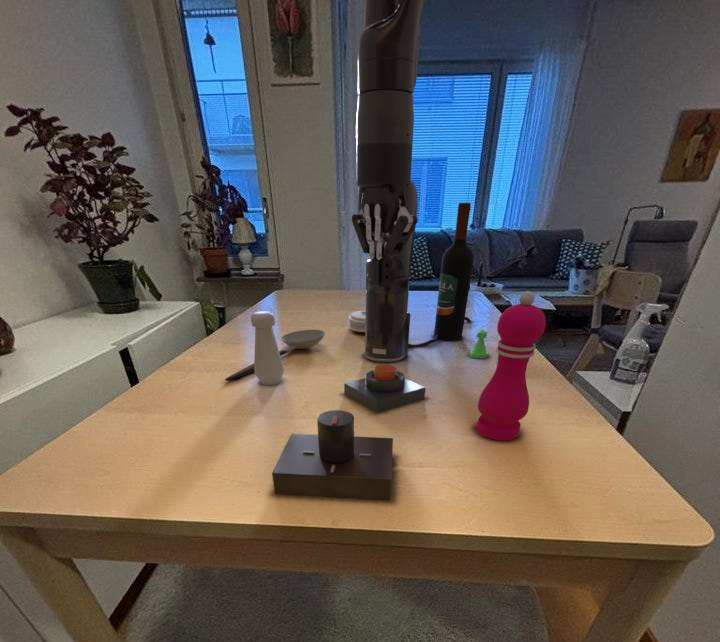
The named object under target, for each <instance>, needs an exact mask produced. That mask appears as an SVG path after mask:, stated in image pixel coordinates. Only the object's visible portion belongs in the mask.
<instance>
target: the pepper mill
mask: <svg viewBox="0 0 720 642" xmlns="http://www.w3.org/2000/svg"><path fill="white" fill-rule="evenodd" d="M535 299H536V298H535V294H534V292H532V291H530V290H527V291H524V292H523V293H521V295H520V296H519V303H517V304H514V305H511V306H509V307H507V308H506V309H505V310H504V311H503V312H502V313H501V315H500V316H499V319H498V322H497V326H496V329H497V330H496V331H497V334H498V336H499V337H500V340H499V341H498V342H497V348H496V350H495V351H496V353H497V354H498V356H497V357H498V358H497V364H496V368H495V371H494V373H493V375H492V377H491V378H490V380H489V381H488V383H487V384H486V385H485V387H484V388H483V390H482V391H481V393H480V395H479V397H478V398H479V399H478V401H477V409H478V411H479V413H480V414H481V415H480V416H479V417H478V419H477V425H476V430H477V432H478V434H480V435H482V436H483V437H485V438H487V439H491V440H495V441H511V440H513V439H514V440H515V439H516V438H517V437H518V436H519V433H520V430H521V422H520V421H521V420H522V419H524V418H525V417H526V416H527V414H528V412H529V407H530V395H529V390H528V385H527V377H526V374H527V368H528V364H529V361H530V358H532V357H533V356H534V355H535V350H536V348H537V344H536V343H535V342H536V341H538V340H539V339H540V338H541V337H542V336H543V334H544V332H545V330H546V322H547V320H546V314H545V313H544V311H543V310H542V309H541V308H540V307H538V306H536V305H533V303H534V302H535Z"/></svg>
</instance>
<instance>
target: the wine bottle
mask: <svg viewBox="0 0 720 642" xmlns="http://www.w3.org/2000/svg"><path fill="white" fill-rule="evenodd" d="M471 205H472V203H471V202H458V205H457V216H456V224H455V231H454V239H453V242H452V244H451V245H450V246H449V247H447V249H446V250H445V251H444V253H443V254H442V257H441V267H440V274H439V275H440V276H439V285H438V293H437V294H438V295H437V302H436V313H435V322H434V328H433V329H434V330H433V339H434V338H435V336H436V335H438V336H439V338H438V340H437V341H442V342H443V341H444V342H457V341H461V340H462V338H463V331H464V326H465V320H464V319H465V317H466V311H467V306H468V298H469V292H470V285H471V278H472V271H473V266H474V265H473V264H474V254H473V251H472V249H470V246H468V245H467V237H468V236H467V234H468V228H469V226H468V225H469V219H470V212H471V209H472V208H471V207H472V206H471Z"/></svg>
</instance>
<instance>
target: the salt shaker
mask: <svg viewBox="0 0 720 642" xmlns="http://www.w3.org/2000/svg"><path fill="white" fill-rule="evenodd" d="M250 322H251V326H252V327H253V328H254V331H255V332H254V357H253V358H254V360H253V361H254V362H253V364H254V371H253V372H254V375H255V376H256V378H257V379H258V380H259V382H260V383H261V384H262V385H267V386H274V385H277V384H280V383H281V381H282V378H283V375H284V373H285V367H284V364H283V361H282V360H283V359H282V356H280V353H279V351H280V350H279V347H278V346H279V345H278V343H277V339H276V336H275V332H274V329H273V327H274V326H275V325H276V319H275V315H274V314H273V313H272V312H270V311H266V310H260V311H255V312H253V313H252V314H251V315H250Z"/></svg>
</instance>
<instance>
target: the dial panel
mask: <svg viewBox="0 0 720 642" xmlns="http://www.w3.org/2000/svg"><path fill="white" fill-rule="evenodd" d="M393 450H394V437H379V436H378V437H376V436H356V435H354V456H353V457H352V458H351V459H350V460H348V461H345V462H340V463H332V462H327V461H325V460H323V459H322V458H321V457H320V455H319V441H318V434H310V433H309V434H308V433H290V436H289V437H288V439H287V441H286V443H285V446H284V448H283V449H282V452H281V454H280V455H279V456H280V457H279V458H278V460H277V462H276V464H275V466H274V468H273V470H272V472H271V475H272V482H273V490H274V494H278V495H296V496H313V497H329V498H330V497H331V498H348V499H350V498H351V499H368V500H387V501H390V500H391V499H392V497H391V496H392V482H393V454H394V453H393Z"/></svg>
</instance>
